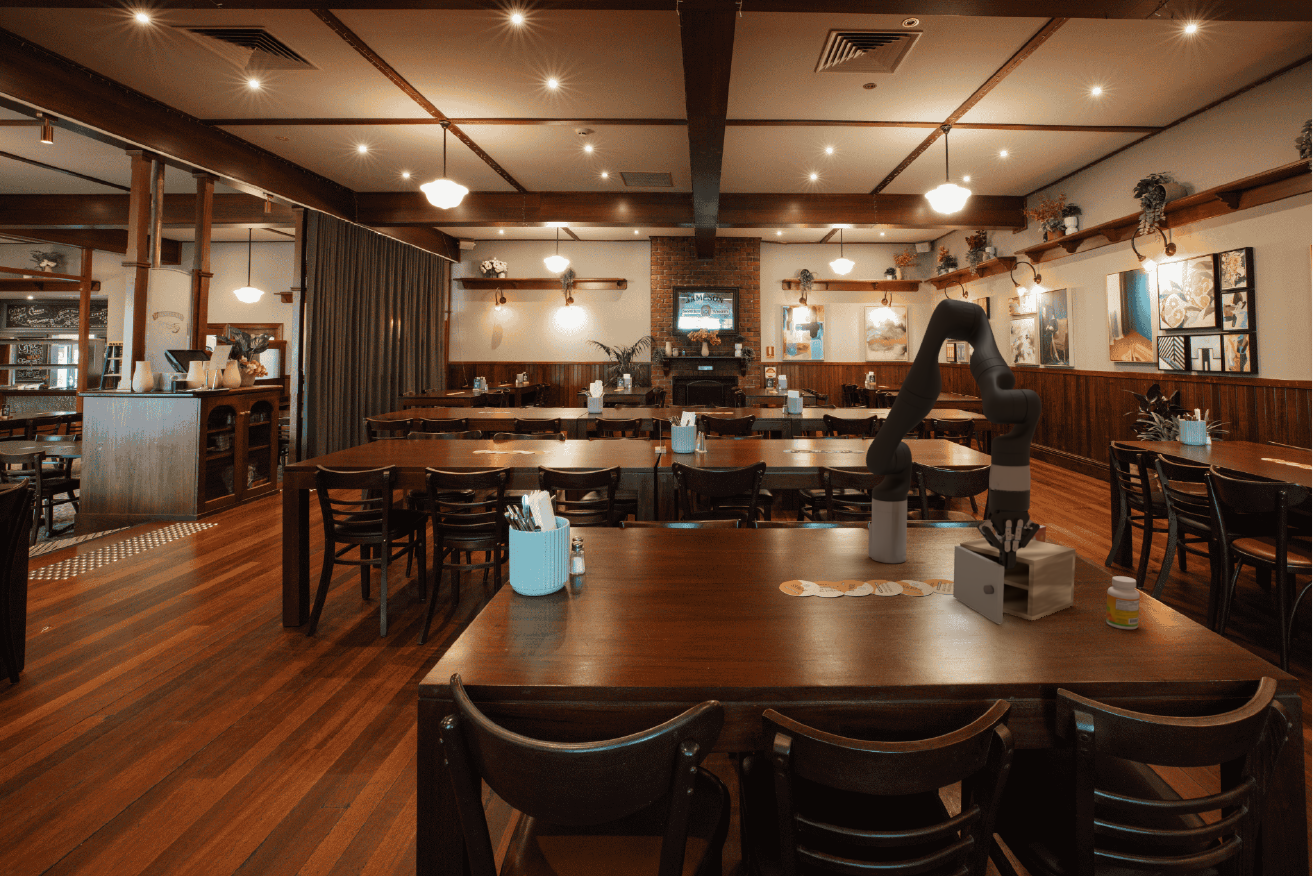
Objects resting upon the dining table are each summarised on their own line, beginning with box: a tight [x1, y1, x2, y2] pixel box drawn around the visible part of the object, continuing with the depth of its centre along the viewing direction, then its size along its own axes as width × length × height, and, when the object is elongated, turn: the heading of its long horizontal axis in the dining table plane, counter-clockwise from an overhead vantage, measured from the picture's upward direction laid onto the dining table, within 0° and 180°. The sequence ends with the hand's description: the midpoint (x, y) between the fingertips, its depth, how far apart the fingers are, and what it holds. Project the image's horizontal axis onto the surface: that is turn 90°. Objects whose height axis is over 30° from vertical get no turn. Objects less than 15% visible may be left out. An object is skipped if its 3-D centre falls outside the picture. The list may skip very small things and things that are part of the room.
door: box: [952, 545, 1004, 625], centre depth 143 cm, size 16×2×12 cm, turn 6°
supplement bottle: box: [1105, 575, 1141, 630], centre depth 134 cm, size 5×5×10 cm
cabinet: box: [959, 534, 1077, 621], centre depth 148 cm, size 17×16×13 cm
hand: (1007, 567), depth 137 cm, fingers closed
